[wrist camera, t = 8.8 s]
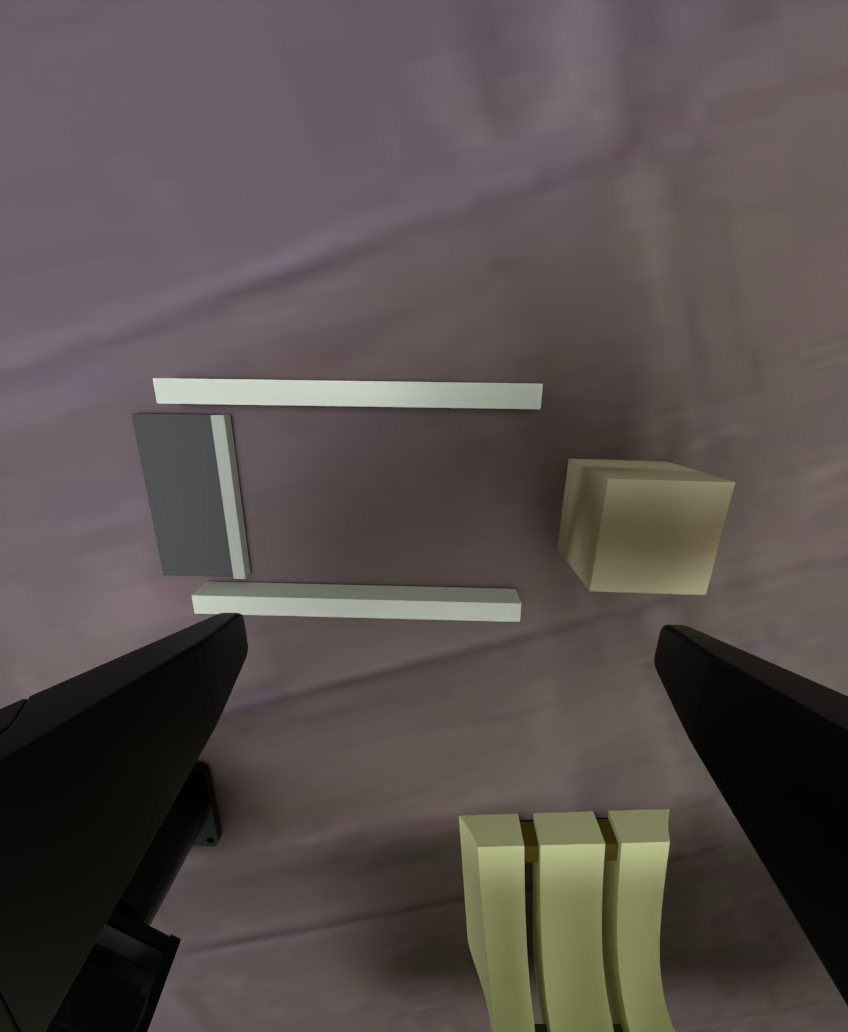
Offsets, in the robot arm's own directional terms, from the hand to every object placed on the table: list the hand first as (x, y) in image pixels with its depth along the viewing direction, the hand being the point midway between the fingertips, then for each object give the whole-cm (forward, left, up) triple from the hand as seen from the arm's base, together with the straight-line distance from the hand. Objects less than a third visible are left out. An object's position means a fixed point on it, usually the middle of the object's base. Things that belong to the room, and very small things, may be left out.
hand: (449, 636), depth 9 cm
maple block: (0, -8, -11) cm, 14 cm away
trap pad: (0, +12, -11) cm, 16 cm away
